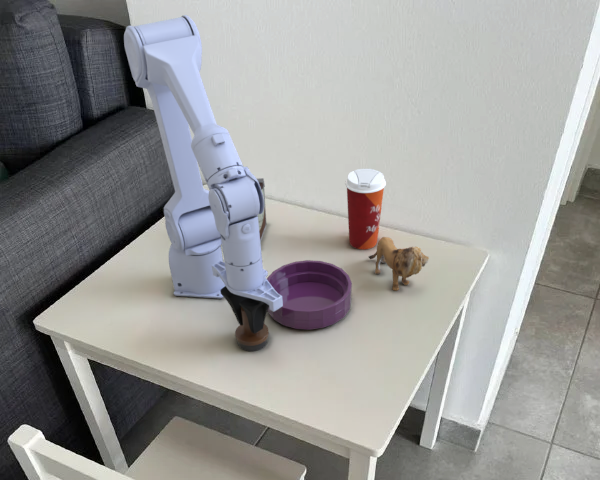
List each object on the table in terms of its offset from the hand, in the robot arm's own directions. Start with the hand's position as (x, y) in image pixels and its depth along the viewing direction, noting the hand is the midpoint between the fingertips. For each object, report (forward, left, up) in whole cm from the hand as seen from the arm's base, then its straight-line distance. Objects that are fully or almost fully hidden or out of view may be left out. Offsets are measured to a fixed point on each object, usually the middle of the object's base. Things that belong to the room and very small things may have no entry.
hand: (251, 326), depth 104 cm
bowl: (+8, +11, -3) cm, 14 cm away
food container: (-8, +33, -3) cm, 34 cm away
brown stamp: (0, 0, -3) cm, 3 cm away
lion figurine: (+23, +21, -3) cm, 31 cm away
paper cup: (+16, +33, -3) cm, 37 cm away
